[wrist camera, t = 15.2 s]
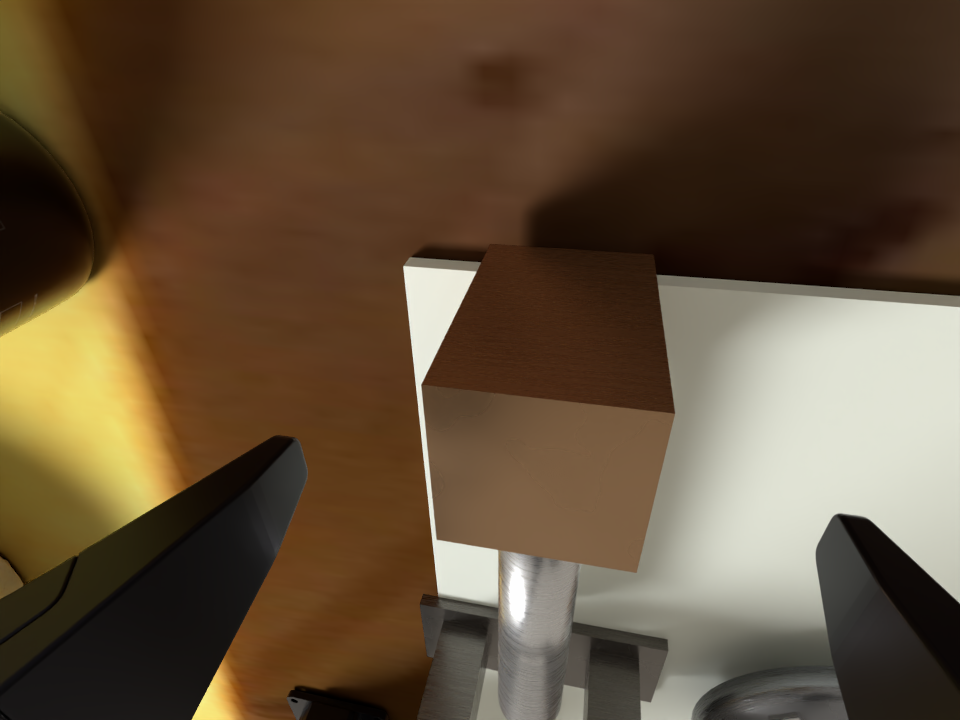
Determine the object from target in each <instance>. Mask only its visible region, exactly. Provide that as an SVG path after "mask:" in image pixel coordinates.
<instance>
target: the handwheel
mask: <svg viewBox="0 0 960 720" xmlns="http://www.w3.org/2000/svg"><path fill="white" fill-rule="evenodd" d="M691 720H848V716H847V713H846V709H845V705H844V702H843V698H842V695H841V691H840V687H839V684H838V680H837V677H836V673H835V669H834V666H795V667H782V668H775V669H767V670H762V671H758V672H753V673H748V674H745V675H742V676H738V677H735V678H733V679H730V680H728V681H725V682H723V683H721V684H719V685H717V686H716V687H714V688H712V689H710V690H709V691H708V692H707V693H705V694H704V695H703V696H702V697H701V698H700V699H699V700H698V702H697V703H696V705H695V707H694V709H693V711H692V717H691Z"/></svg>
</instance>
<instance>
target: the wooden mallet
mask: <svg viewBox="0 0 960 720" xmlns="http://www.w3.org/2000/svg"><path fill="white" fill-rule="evenodd" d="M421 388H422V398H423V408H424V418H425V428H426V439H427V449H428V459H429V469H430V479H431V489H432V499H433V509H434V519H435V529H436V539H437V540H441V541H447V542H453V543H459V544H465V545H471V546H477V547H483V548H489V549H495V550H498V701H499V705H500V708H501V711H502V713H503V714H504V716H505V717H506V719H507V720H555V719H556V717H557V716H558V713H559V711H560V708H561V701H562V694H563V687H564V681H565V674H566V667H567V660H568V653H569V646H570V639H571V632H572V625H573V618H574V611H575V604H576V597H577V590H578V583H579V576H580V569H581V564H585V565H591V566H597V567H603V568H609V569H615V570H621V571H627V572H633V573H637V569H638V565H639V561H640V557H641V553H642V549H643V545H644V540H645V536H646V532H647V528H648V524H649V520H650V516H651V512H652V507H653V503H654V499H655V495H656V491H657V487H658V483H659V479H660V474H661V470H662V466H663V462H664V458H665V454H666V450H667V445H668V441H669V437H670V433H671V429H672V425H673V421H674V417H675V409H674V401H673V394H672V386H671V379H670V371H669V364H668V357H667V349H666V342H665V334H664V327H663V319H662V312H661V305H660V297H659V290H658V282H657V275H656V267H655V260H654V255H653V254H637V253H622V252H606V251H591V250H575V249H559V248H544V247H528V246H513V245H497V244H490V245H489V247H488V250H487V252H486V254H485V256H484V258H483V260H482V262H481V264H480V266H479V268H478V270H477V272H476V274H475V276H474V278H473V280H472V282H471V284H470V286H469V288H468V290H467V292H466V294H465V296H464V298H463V300H462V303H461V305H460V307H459V309H458V311H457V313H456V315H455V317H454V319H453V321H452V323H451V325H450V327H449V329H448V331H447V333H446V335H445V337H444V339H443V341H442V343H441V345H440V347H439V349H438V351H437V353H436V356H435V358H434V360H433V362H432V364H431V366H430V368H429V370H428V372H427V374H426V376H425V378H424V380H423V382H422V384H421Z"/></svg>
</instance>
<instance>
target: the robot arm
mask: <svg viewBox="0 0 960 720" xmlns="http://www.w3.org/2000/svg"><path fill="white" fill-rule="evenodd" d="M307 474H308V472H307V466H306V462H305V458H304V455H303V451H302V448H301V444H300V442H299V440H298V439H297V438H295V437H288V436H281V435H276V436H273V437H271V438H270V439H268V440H266V441H265V442H263V443H261V444H260V445H258V446H256V447H255V448H253V449H251V450H250V451H248V452H246V453H245V454H243V455H241V456H240V457H238V458H236V459H235V460H233V461H231V462H230V463H228V464H226V465H225V466H223V467H221V468H220V469H218V470H216V471H215V472H213V473H211V474H210V475H208V476H206V477H205V478H203V479H201V480H200V481H198V482H196V483H195V484H193V485H191V486H190V487H188V488H186V489H185V490H183V491H181V492H180V493H178V494H176V495H175V496H173V497H171V498H170V499H168V500H166V501H165V502H163V503H161V504H160V505H158V506H157V507H155V508H153V509H152V510H150V511H148V512H147V513H145V514H143V515H142V516H140V517H138V518H137V519H135V520H133V521H132V522H130V523H128V524H127V525H125V526H123V527H122V528H120V529H118V530H117V531H115V532H113V533H112V534H110V535H108V536H107V537H105V538H103V539H102V540H100V541H98V542H97V543H95V544H93V545H92V546H90V547H88V548H87V549H85V550H83V551H82V552H80V553H79V555H78V556H73V557H71V558H70V559H68V560H66V561H65V562H63V563H61V564H60V565H58V566H57V567H55V568H53V569H52V570H50V571H48V572H46V573H45V574H43V575H41V576H40V577H38V578H36V579H34V580H33V581H31V582H29V583H27V584H26V585H24V586H22V587H21V588H19V589H17V590H15V591H14V592H12V593H10V594H8V595H6V596H5V597H3V598H1V599H0V720H192V718H193V716H194V714H195V712H196V710H197V708H198V706H199V704H200V702H201V700H202V698H203V696H204V695H205V693H206V691H207V689H208V687H209V685H210V683H211V681H212V679H213V677H214V675H215V673H216V672H217V670H218V668H219V666H220V664H221V662H222V660H223V658H224V656H225V654H226V652H227V650H228V649H229V647H230V645H231V643H232V641H233V639H234V637H235V635H236V633H237V631H238V629H239V627H240V625H241V624H242V622H243V620H244V618H245V616H246V614H247V612H248V610H249V608H250V606H251V604H252V602H253V601H254V599H255V597H256V595H257V593H258V591H259V589H260V587H261V585H262V583H263V581H264V579H265V578H266V576H267V574H268V572H269V570H270V568H271V566H272V564H273V562H274V560H275V558H276V556H277V553H278V551H279V549H280V546H281V544H282V541H283V539H284V536H285V534H286V531H287V529H288V526H289V524H290V521H291V519H292V516H293V514H294V511H295V508H296V506H297V503H298V501H299V498H300V496H301V493H302V491H303V488H304V486H305V483H306V480H307ZM815 556H816V566H817V572H818V578H819V585H820V591H821V597H822V603H823V610H824V616H825V622H826V629H827V635H828V641H829V646H830V652H831V657H832V661H833V665H834V669H835V673H836V677H837V680H838V684H839V687H840V691H841V695H842V698H843V702H844V705H845V709H846V713H847V716H848V720H960V603H959V602H958V601H957V600H956V599H955V598H954V597H953V596H952V595H951V594H949V593H948V592H947V591H946V590H945V589H944V588H943V587H942V586H941V585H940V584H939V583H938V582H937V581H935V580H934V579H933V578H932V577H931V576H930V575H929V574H928V573H927V572H926V571H925V570H924V569H923V568H921V567H920V566H919V565H918V564H917V563H916V562H915V561H914V560H913V559H912V558H911V557H910V556H909V555H908V554H906V553H905V552H904V551H903V550H902V549H901V548H900V547H899V546H898V545H897V544H896V543H895V542H894V541H892V540H891V539H890V538H889V537H888V536H887V535H886V534H885V533H884V532H883V531H882V530H881V529H880V528H879V527H877V526H876V525H875V524H874V523H873V522H872V521H871V520H869V519H868V518H866V517H863V516H858V515H850V514H843V513H837V514H835V515H834V516H833V517H832V518H831V520H830V522H829V524H828V526H827V527H826V529H825V531H824V533H823V535H822V537H821V539H820V541H819V543H818V545H817V548H816V554H815ZM287 700H288V702H289V705H290V707H291V709H292V711H293V713H294V715H295V717H296V720H389V719H388V715H387V713H386V712H384V711H382V710H379V709H375V708H371V707H366V706H362V705H358V704H353V703H349V702H344V701H340V700H336V699H331V698H327V697H323V696H318V695H314V694H309V693H305V692H301V691H296V690H291V691H290V692H289V694H288V697H287Z"/></svg>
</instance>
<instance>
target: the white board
mask: <svg viewBox="0 0 960 720" xmlns="http://www.w3.org/2000/svg"><path fill="white" fill-rule="evenodd" d="M480 264H481V262H469V261H455V260H441V259H426V258H412V257H410V258H409V259H408V261H407V262H406V263H405V265H404V266H403V267H404V276H405V286H406V295H407V305H408V314H409V324H410V333H411V342H412V352H413V361H414V371H415V380H416V390H417V399H418V409H419V418H420V427H421V437H422V446H423V456H424V465H425V475H426V484H427V493H428V503H429V512H430V522H431V531H432V541H433V550H434V559H435V569H436V578H437V588H438V597H442V598H447V599H453V600H458V601H463V602H469V603H474V604H480V605H485V606H490V607H496V608H498V550H495V549H489V548H483V547H477V546H471V545H465V544H459V543H453V542H447V541H441V540H437V539H436V529H435V519H434V509H433V499H432V489H431V479H430V469H429V459H428V449H427V439H426V428H425V418H424V408H423V398H422V388H421V384H422V382H423V380H424V378H425V376H426V374H427V372H428V370H429V368H430V366H431V364H432V362H433V360H434V358H435V356H436V353H437V351H438V349H439V347H440V345H441V343H442V341H443V339H444V337H445V335H446V333H447V331H448V329H449V327H450V325H451V323H452V321H453V319H454V317H455V315H456V313H457V311H458V309H459V307H460V305H461V303H462V300H463V298H464V296H465V294H466V292H467V290H468V288H469V286H470V284H471V282H472V280H473V278H474V276H475V274H476V272H477V270H478V268H479V266H480ZM657 282H658V290H659V297H660V305H661V312H662V319H663V327H664V334H665V342H666V349H667V357H668V364H669V371H670V379H671V386H672V394H673V401H674V409H675V417H674V421H673V425H672V429H671V433H670V437H669V441H668V445H667V450H666V454H665V458H664V462H663V466H662V470H661V474H660V479H659V483H658V487H657V491H656V495H655V499H654V503H653V507H652V512H651V516H650V520H649V524H648V528H647V532H646V536H645V540H644V545H643V549H642V553H641V557H640V561H639V565H638V569H637V573H633V572H627V571H621V570H615V569H609V568H603V567H597V566H591V565H585V564H581V569H580V576H579V583H578V590H577V597H576V604H575V611H574V618H573V622H577V623H582V624H588V625H593V626H598V627H604V628H609V629H615V630H620V631H625V632H631V633H636V634H642V635H647V636H652V637H658V638H663V639H668V654H667V657H666V660H665V663H664V666H663V669H662V672H661V675H660V677H659V680H658V683H657V686H656V689H655V692H654V695H653V698H652V701H651V703H650V702H646V701H641V700H640V704H641V720H691V717H692V711H693V709H694V707H695V705H696V703H697V702H698V700H699V699H700V698H701V697H702V696H703V695H704V694H705V693H707V692H708V691H709V690H710V689H712V688H714V687H716V686H717V685H719V684H721V683H723V682H725V681H728V680H730V679H733V678H735V677H738V676H742V675H745V674H748V673H753V672H758V671H762V670H767V669H775V668H782V667H795V666H834V665H833V661H832V657H831V652H830V646H829V641H828V635H827V629H826V622H825V616H824V610H823V603H822V597H821V591H820V585H819V578H818V572H817V566H816V556H815V554H816V548H817V545H818V543H819V541H820V539H821V537H822V535H823V533H824V531H825V529H826V527H827V526H828V524H829V522H830V520H831V518H832V517H833V516H834V515H835V514H837V513H843V514H850V515H858V516H863V517H866V518H868V519H869V520H871V521H872V522H873V523H874V524H875V525H876V526H877V527H879V528H880V529H881V530H882V531H883V532H884V533H885V534H886V535H887V536H888V537H889V538H890V539H891V540H892V541H894V542H895V543H896V544H897V545H898V546H899V547H900V548H901V549H902V550H903V551H904V552H905V553H906V554H908V555H909V556H910V557H911V558H912V559H913V560H914V561H915V562H916V563H917V564H918V565H919V566H920V567H921V568H923V569H924V570H925V571H926V572H927V573H928V574H929V575H930V576H931V577H932V578H933V579H934V580H935V581H937V582H938V583H939V584H940V585H941V586H942V587H943V588H944V589H945V590H946V591H947V592H948V593H949V594H951V595H952V596H953V597H954V598H955V599H956V600H957V601H958V602H959V603H960V296H951V295H937V294H923V293H908V292H894V291H880V290H866V289H852V288H837V287H823V286H809V285H795V284H781V283H767V282H752V281H738V280H724V279H710V278H696V277H682V276H667V275H657ZM583 708H584V689H583V688H578V687H573V686H568V685H564V687H563V694H562V701H561V708H560V711H559V713H558V716H557V717H556V719H555V720H583ZM476 720H507V719H506V717H505V716H504V714H503V713H502V711H501V708H500V705H499V701H498V671H495V670H491V669H486V672H485V678H484V683H483V688H482V693H481V699H480V704H479V709H478V714H477V719H476Z"/></svg>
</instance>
